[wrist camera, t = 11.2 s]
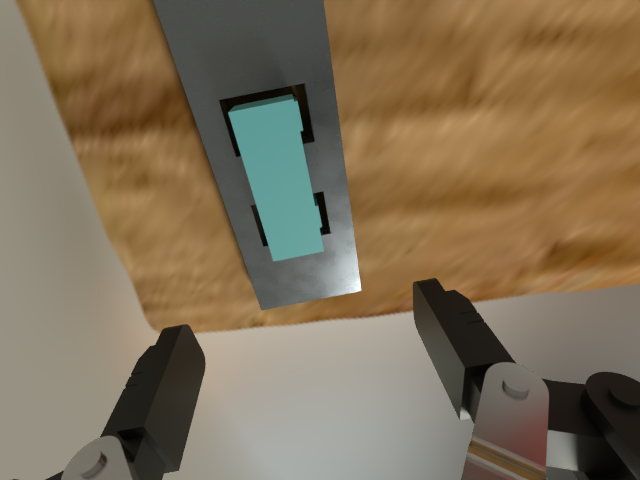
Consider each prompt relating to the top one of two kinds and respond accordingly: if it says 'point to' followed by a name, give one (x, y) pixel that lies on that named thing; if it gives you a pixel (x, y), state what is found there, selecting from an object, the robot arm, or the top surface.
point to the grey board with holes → (220, 142)
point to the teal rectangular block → (279, 174)
